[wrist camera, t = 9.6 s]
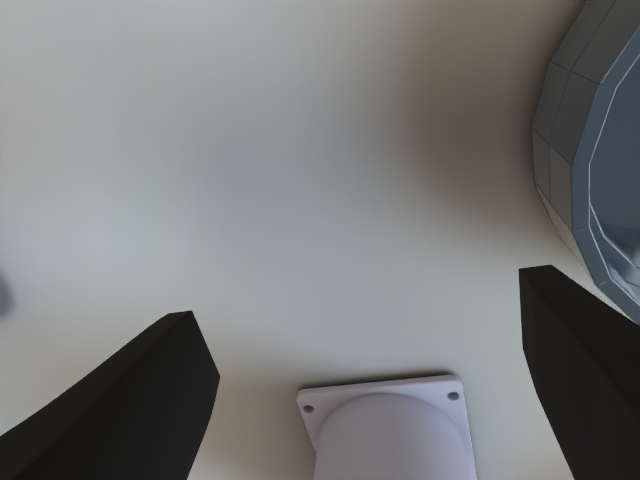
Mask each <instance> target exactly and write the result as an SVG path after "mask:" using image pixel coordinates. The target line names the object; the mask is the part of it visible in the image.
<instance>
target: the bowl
mask: <svg viewBox="0 0 640 480" xmlns="http://www.w3.org/2000/svg"><path fill="white" fill-rule="evenodd" d="M532 127H533V128H532V142H533V161H534V180H535V183H536V188H537V190H538V192H539V194H540V196H541V198H542V201H543V203H544V205H545V207H546V209H547V212H548V214H549V216H550V218H551V220H552V222H553V225H554V227H555V228H556V230H557V231H558V233H559V234H560V236H561V237H562V238H563V240H564V241H565V243H566V244H567V246H568V247H569V248H570V250H571V251H572V253H573V254H574V256H575V257H576V259H577V260H578V261H579V263H580V264H581V266H582V267H583V269H584V270H585V271H586V273H587V274H588V276H589V277H590V279H591V280H592V281H593V283H594V284H595V286H596V287H597V288H598V289H599V290H600V291H601V292H603V293H604V294H605V295H606V296H607V297H608V298H609V299H610V300H611V301H612V302H613V303H614V304H616V305H617V306H618V307H619V308H620V309H621V310H622V311H623V312H624V313H625V314H626V315H627V316H629V317H630V318H631V319H632V320H633V321H634V322H635V323H636V324H638V325H639V326H640V0H587V2H586V4H585V5H584V7H583V9H582V10H581V12H580V13H579V15H578V17H577V18H576V20H575V22H574V23H573V25H572V26H571V28H570V30H569V31H568V33H567V35H566V36H565V38H564V39H563V41H562V43H561V44H560V46H559V48H558V49H557V51H556V52H555V54H554V56H553V57H552V59H551V62H550V63H549V66H548V69H547V73H546V76H545V80H544V83H543V87H542V91H541V94H540V98H539V101H538V105H537V108H536V112H535V115H534V119H533V122H532Z"/></svg>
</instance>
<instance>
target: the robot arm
mask: <svg viewBox="0 0 640 480" xmlns="http://www.w3.org/2000/svg"><path fill="white" fill-rule="evenodd" d="M519 286H520V305H521V323H522V342H523V350H524V354H525V357H526V360H527V364H528V367H529V371H530V374H531V377H532V380H533V383H534V387H535V390H536V393H537V395H538V398H539V400H540V402H541V405H542V407H543V409H544V411H545V414H546V416H547V418H548V420H549V423H550V425H551V427H552V430H553V432H554V434H555V436H556V439H557V441H558V443H559V445H560V448H561V450H562V452H563V454H564V457H565V459H566V461H567V463H568V465H569V468H570V470H571V472H572V474H573V477H574V479H575V480H640V326H639V325H638V324H636V323H634V322H633V321H631V320H630V319H628V318H627V317H625V316H624V315H622V314H621V313H619V312H618V311H616V310H615V309H613V308H612V307H610V306H609V305H607V304H606V303H604V302H603V301H601V300H600V299H598V298H597V297H596V296H594V295H593V294H591V293H590V292H589V291H587V290H586V289H584V288H583V287H582V286H580V285H579V284H577V283H576V282H575V281H573V280H572V279H571V278H569V277H568V276H566V275H565V274H564V273H562V272H561V271H559V270H558V269H557V268H555V267H554V266H552V265H545V266H537V267H529V268H521V269H519ZM219 380H220V375H219V373H218V370H217V368H216V366H215V363H214V361H213V359H212V356H211V354H210V352H209V349H208V347H207V345H206V342H205V340H204V338H203V335H202V333H201V331H200V328H199V326H198V324H197V321H196V319H195V317H194V314H193V312H192V311H184V312H177V313H169V314H167V315H165V316H164V317H162V318H161V319H159V320H158V321H156V322H155V323H154V324H152V325H151V326H149V327H148V328H147V329H145V330H144V331H143V332H141V333H140V334H139V335H138V336H136V337H135V338H134V339H132V340H131V341H130V342H129V343H127V344H126V345H125V346H124V347H122V348H121V349H120V350H119V351H117V352H116V353H115V354H113V355H112V356H111V357H110V358H108V359H107V360H106V361H105V362H103V363H102V364H101V365H100V366H98V367H97V368H96V369H94V370H93V371H92V372H91V373H89V374H88V375H87V376H85V377H84V378H83V379H81V380H80V381H79V382H77V383H76V384H75V385H73V386H72V387H70V388H69V389H68V390H66V391H65V392H64V393H62V394H61V395H60V396H58V397H57V398H56V399H54V400H53V401H52V402H50V403H49V404H48V405H46V406H45V407H43V408H42V409H40V410H39V411H38V412H36V413H35V414H33V415H32V416H30V417H29V418H27V419H26V420H24V421H23V422H21V423H20V424H18V425H17V426H15V427H14V428H12V429H11V430H9V431H8V432H6V433H4V434H3V435H1V436H0V480H187V478H188V475H189V473H190V470H191V468H192V465H193V462H194V460H195V457H196V455H197V452H198V450H199V447H200V444H201V442H202V439H203V437H204V434H205V431H206V429H207V426H208V423H209V420H210V418H211V414H212V410H213V406H214V402H215V398H216V394H217V389H218V384H219ZM451 392H456V393H454V394H449V393H451ZM296 402H297V404H298V407H299V410H300V413H301V415H302V418H303V421H304V423H305V426H306V429H307V432H308V434H309V437H310V440H311V442H312V445H313V448H314V450H315V453H316V463H315V470H314V477H313V480H477V475H476V469H475V462H474V456H473V450H472V443H471V437H470V430H469V424H468V417H467V411H466V404H465V398H464V392H463V385H462V381H461V379H460V378H459V377H458V376H455V375H442V376H432V377H422V378H412V379H401V380H391V381H381V382H371V383H361V384H351V385H340V386H330V387H320V388H310V389H303V390H300V391H299V392H298V394H297V398H296ZM307 405H310V406H312V407H310V406H307Z"/></svg>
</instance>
